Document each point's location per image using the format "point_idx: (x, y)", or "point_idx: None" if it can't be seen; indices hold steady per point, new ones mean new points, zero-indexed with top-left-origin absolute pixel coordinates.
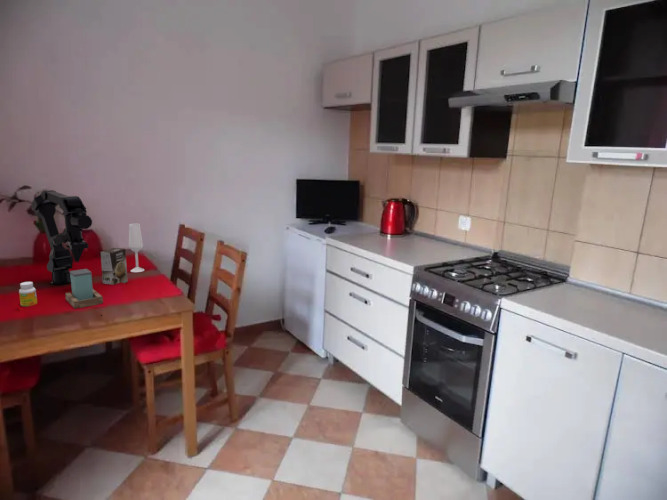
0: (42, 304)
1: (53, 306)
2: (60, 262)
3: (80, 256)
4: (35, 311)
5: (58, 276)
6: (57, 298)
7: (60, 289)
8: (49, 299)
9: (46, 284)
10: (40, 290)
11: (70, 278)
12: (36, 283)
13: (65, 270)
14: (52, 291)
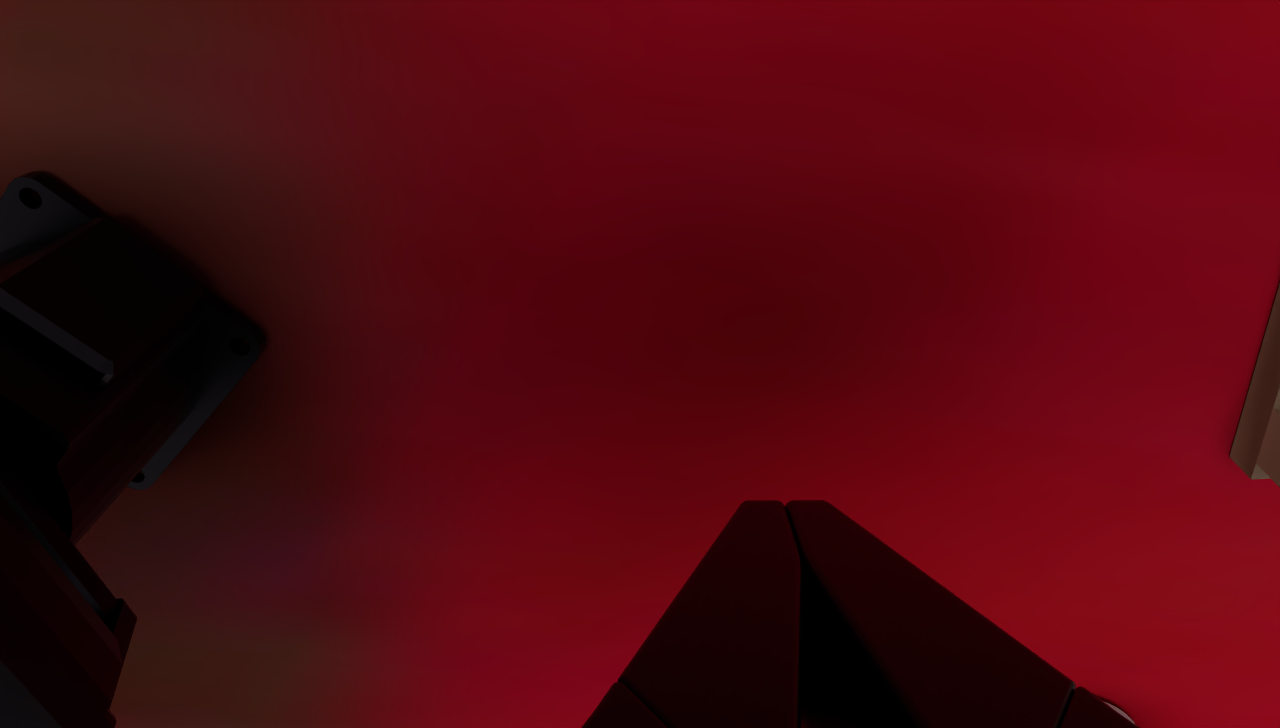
0: (1069, 651)
1: (1259, 576)
2: (34, 682)
3: (982, 621)
4: (1267, 724)
5: (136, 464)
6: (948, 497)
7: (509, 405)
8: None
9: (148, 514)
10: (432, 601)
11: (85, 235)
12: None
13: (29, 410)
14: (560, 501)
